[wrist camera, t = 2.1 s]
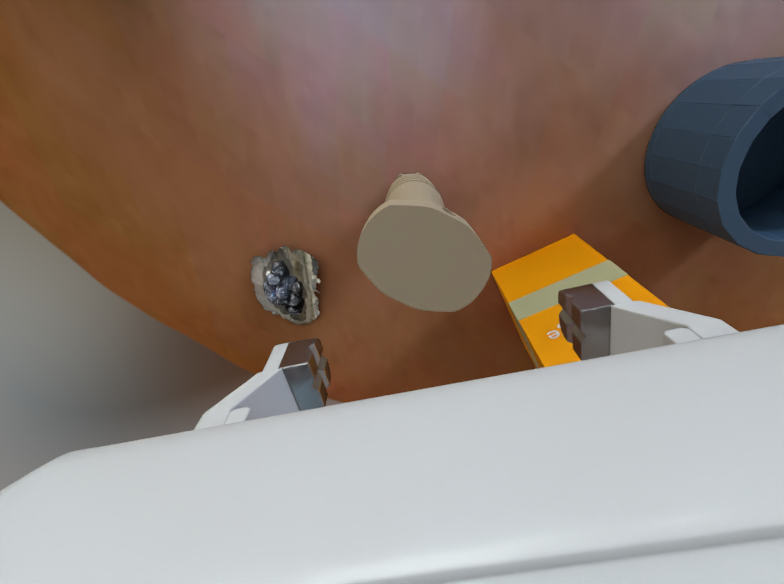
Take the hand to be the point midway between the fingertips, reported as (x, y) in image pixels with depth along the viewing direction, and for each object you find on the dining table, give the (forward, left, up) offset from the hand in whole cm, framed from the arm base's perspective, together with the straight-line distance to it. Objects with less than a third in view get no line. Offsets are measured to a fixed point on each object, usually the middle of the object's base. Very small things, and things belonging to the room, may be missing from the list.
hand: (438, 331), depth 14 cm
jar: (+2, +24, -21) cm, 32 cm away
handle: (0, 0, -21) cm, 21 cm away
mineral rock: (+6, -12, -21) cm, 25 cm away
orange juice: (+11, +10, -21) cm, 26 cm away
